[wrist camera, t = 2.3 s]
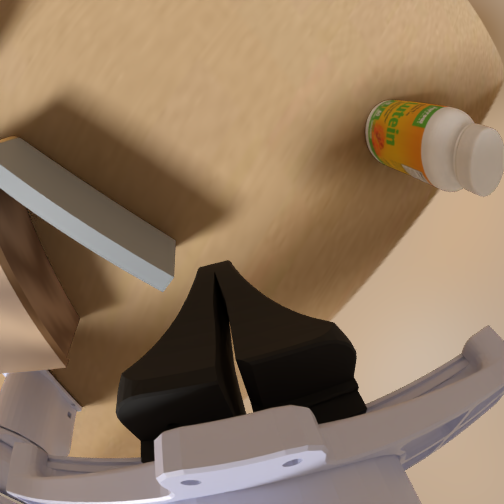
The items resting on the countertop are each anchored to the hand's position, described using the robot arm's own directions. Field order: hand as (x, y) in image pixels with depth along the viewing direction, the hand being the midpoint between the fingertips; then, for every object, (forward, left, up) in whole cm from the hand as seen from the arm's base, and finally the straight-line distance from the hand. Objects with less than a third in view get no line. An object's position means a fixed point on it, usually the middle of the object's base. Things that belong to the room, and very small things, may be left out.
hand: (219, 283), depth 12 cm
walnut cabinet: (+1, +18, -8) cm, 20 cm away
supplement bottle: (+3, -15, -9) cm, 18 cm away
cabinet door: (+4, +8, -8) cm, 12 cm away
